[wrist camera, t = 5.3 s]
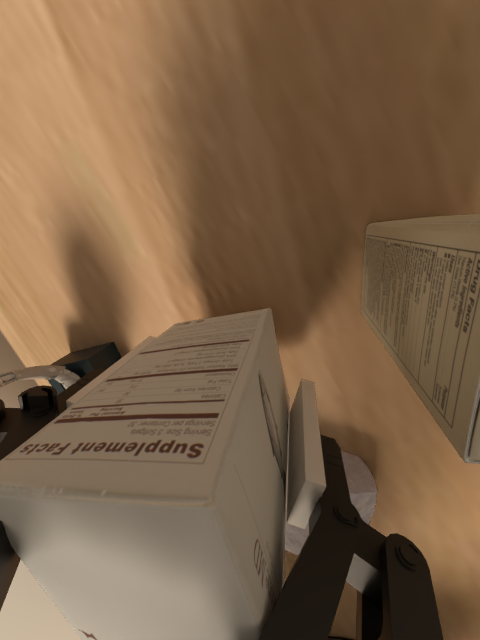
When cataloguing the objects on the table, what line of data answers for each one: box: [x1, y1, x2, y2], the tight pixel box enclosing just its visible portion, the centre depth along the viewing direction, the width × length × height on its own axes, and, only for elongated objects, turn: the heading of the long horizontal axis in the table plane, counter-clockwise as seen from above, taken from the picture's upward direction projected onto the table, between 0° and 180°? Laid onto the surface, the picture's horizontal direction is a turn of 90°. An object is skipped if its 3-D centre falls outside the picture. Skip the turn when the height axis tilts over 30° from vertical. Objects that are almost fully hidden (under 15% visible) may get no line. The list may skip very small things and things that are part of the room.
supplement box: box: [0, 308, 290, 640], centre depth 12 cm, size 7×7×13 cm
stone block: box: [285, 445, 377, 555], centre depth 24 cm, size 12×5×10 cm
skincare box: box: [361, 214, 480, 464], centre depth 11 cm, size 6×4×12 cm
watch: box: [0, 342, 121, 395], centre depth 20 cm, size 6×8×11 cm
